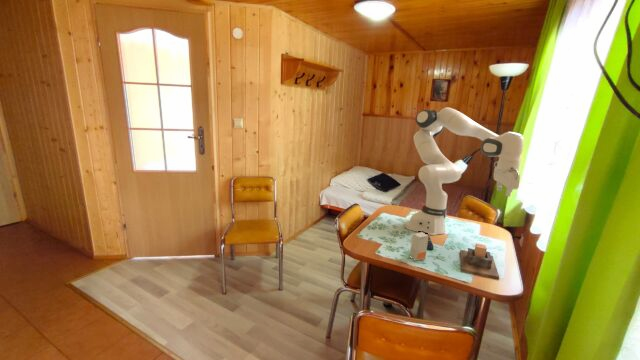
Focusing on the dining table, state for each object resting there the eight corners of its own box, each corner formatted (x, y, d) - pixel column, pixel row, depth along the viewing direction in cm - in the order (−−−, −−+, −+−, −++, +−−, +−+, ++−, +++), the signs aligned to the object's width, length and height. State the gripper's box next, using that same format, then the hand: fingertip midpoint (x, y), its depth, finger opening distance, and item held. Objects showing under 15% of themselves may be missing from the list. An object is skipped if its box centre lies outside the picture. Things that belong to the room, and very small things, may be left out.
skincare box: (415, 261, 138) (418, 237, 135) (409, 256, 141) (412, 233, 139) (425, 259, 140) (429, 235, 137) (419, 254, 144) (422, 231, 141)
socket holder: (462, 271, 130) (464, 260, 129) (460, 252, 148) (461, 242, 147) (498, 279, 125) (501, 268, 124) (492, 258, 143) (494, 248, 142)
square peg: (473, 263, 135) (476, 246, 133) (473, 259, 139) (475, 243, 137) (483, 265, 134) (486, 248, 132) (482, 261, 138) (485, 245, 136)
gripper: (526, 170, 134) (519, 200, 138) (506, 162, 154) (501, 188, 157) (510, 169, 135) (505, 198, 138) (493, 162, 155) (488, 187, 158)
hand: (503, 193), depth 148 cm, fingers open, 8 cm apart
